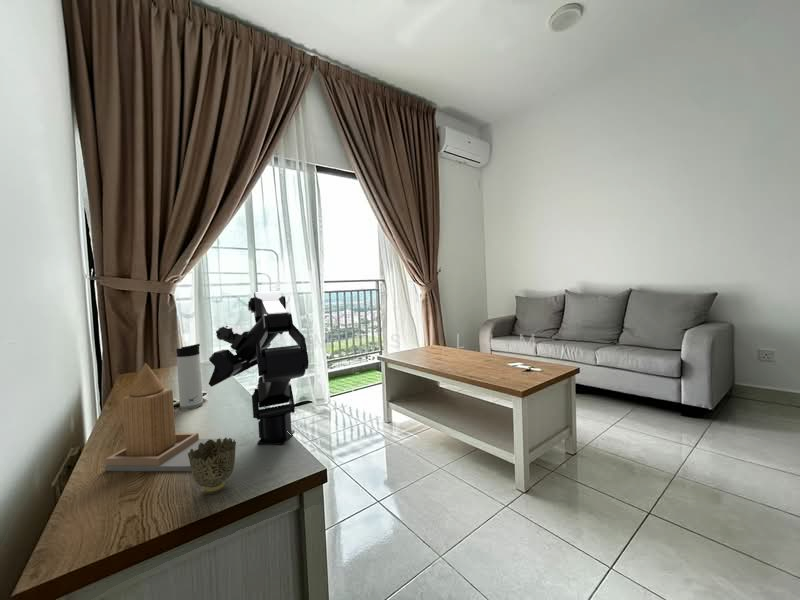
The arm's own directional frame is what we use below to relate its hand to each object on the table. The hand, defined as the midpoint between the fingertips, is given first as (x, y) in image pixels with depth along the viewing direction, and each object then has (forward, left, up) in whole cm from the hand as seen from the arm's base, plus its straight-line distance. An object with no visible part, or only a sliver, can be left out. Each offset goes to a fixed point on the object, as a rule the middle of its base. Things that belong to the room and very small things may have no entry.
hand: (221, 379), depth 83 cm
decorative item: (+10, +12, -13) cm, 20 cm away
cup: (-14, +24, -14) cm, 31 cm away
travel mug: (+23, -19, -14) cm, 33 cm away
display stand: (+4, +12, -14) cm, 19 cm away
